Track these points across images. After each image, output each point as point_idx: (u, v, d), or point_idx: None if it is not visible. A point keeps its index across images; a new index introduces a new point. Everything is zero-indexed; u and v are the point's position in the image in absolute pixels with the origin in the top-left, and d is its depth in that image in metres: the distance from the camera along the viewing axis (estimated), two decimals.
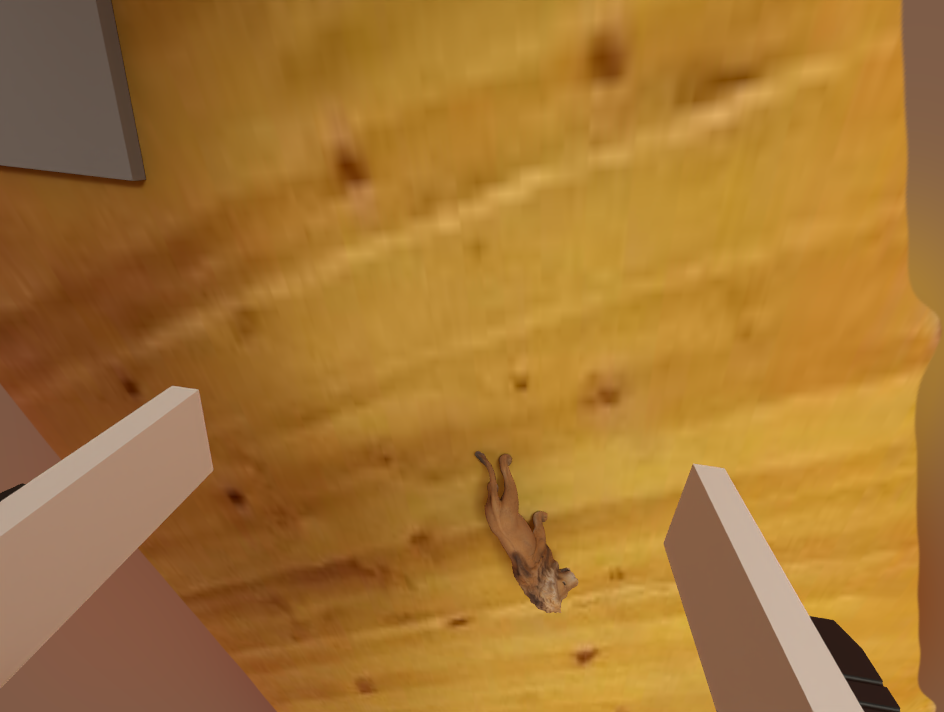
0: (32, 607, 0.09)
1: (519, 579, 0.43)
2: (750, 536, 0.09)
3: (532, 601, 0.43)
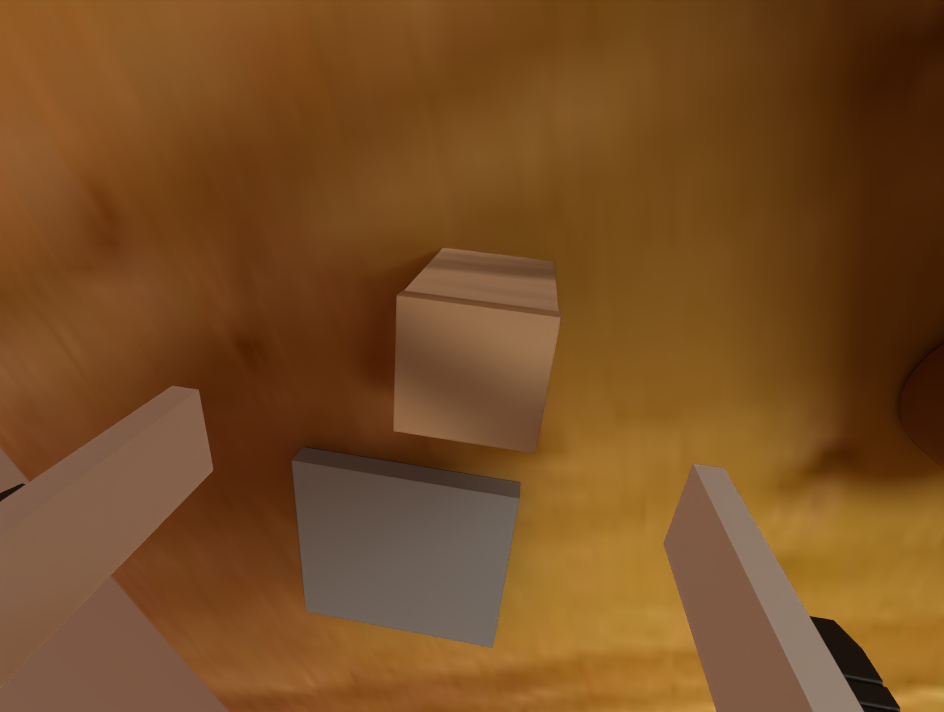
0: (32, 607, 0.09)
1: None
2: (750, 536, 0.09)
3: None
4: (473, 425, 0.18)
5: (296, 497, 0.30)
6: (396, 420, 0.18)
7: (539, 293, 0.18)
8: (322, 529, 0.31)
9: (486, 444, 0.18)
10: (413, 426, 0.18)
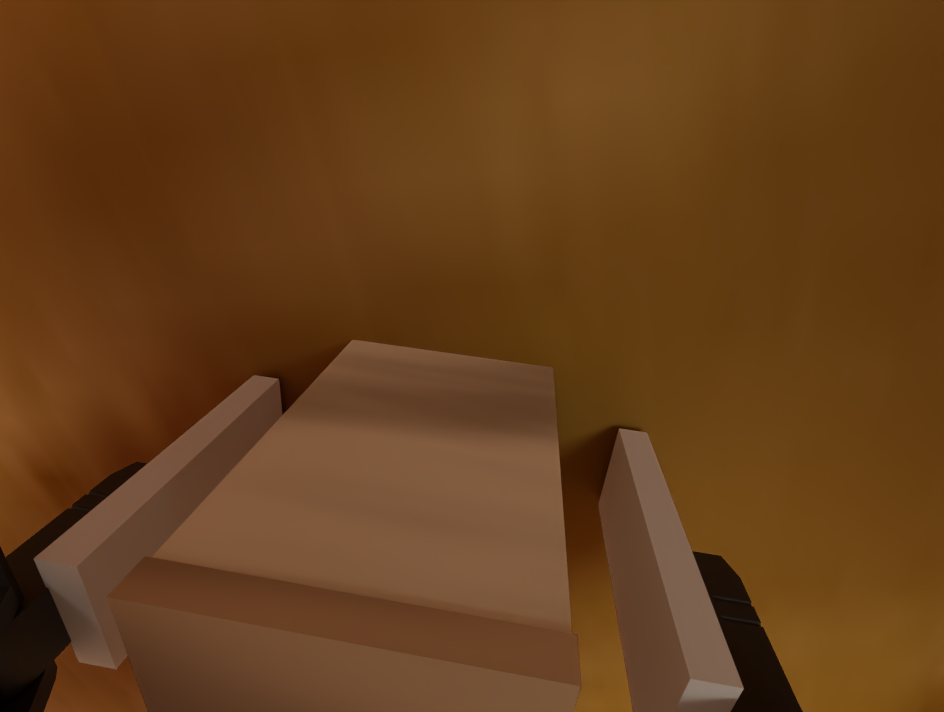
0: None
1: None
2: (655, 486, 0.11)
3: None
4: None
5: None
6: None
7: (522, 515, 0.07)
8: None
9: None
10: None
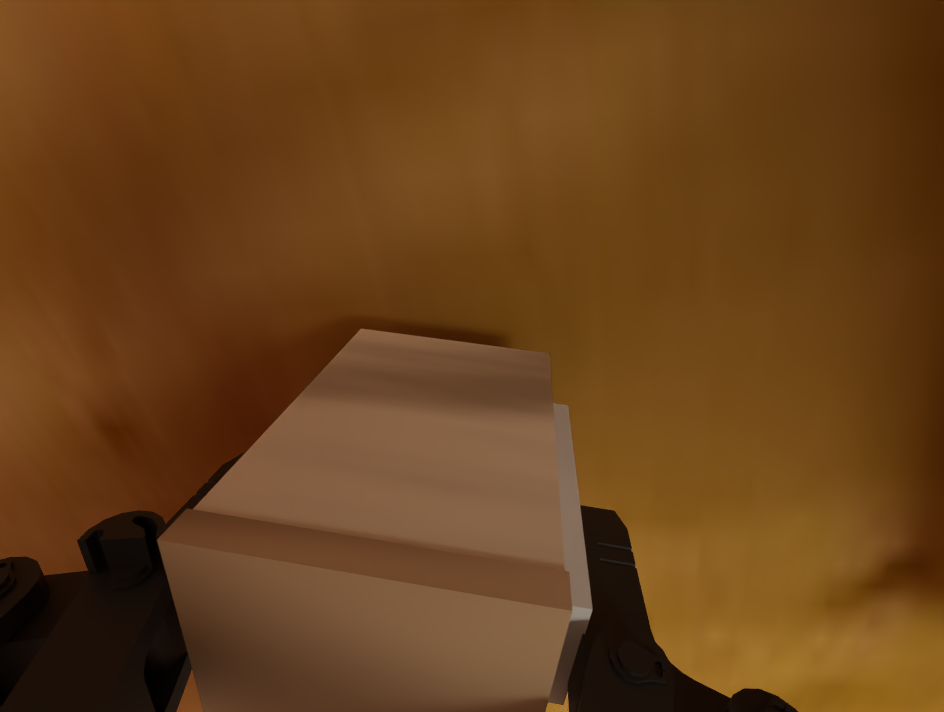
0: None
1: None
2: (562, 450, 0.11)
3: None
4: None
5: None
6: None
7: (520, 478, 0.08)
8: None
9: None
10: None
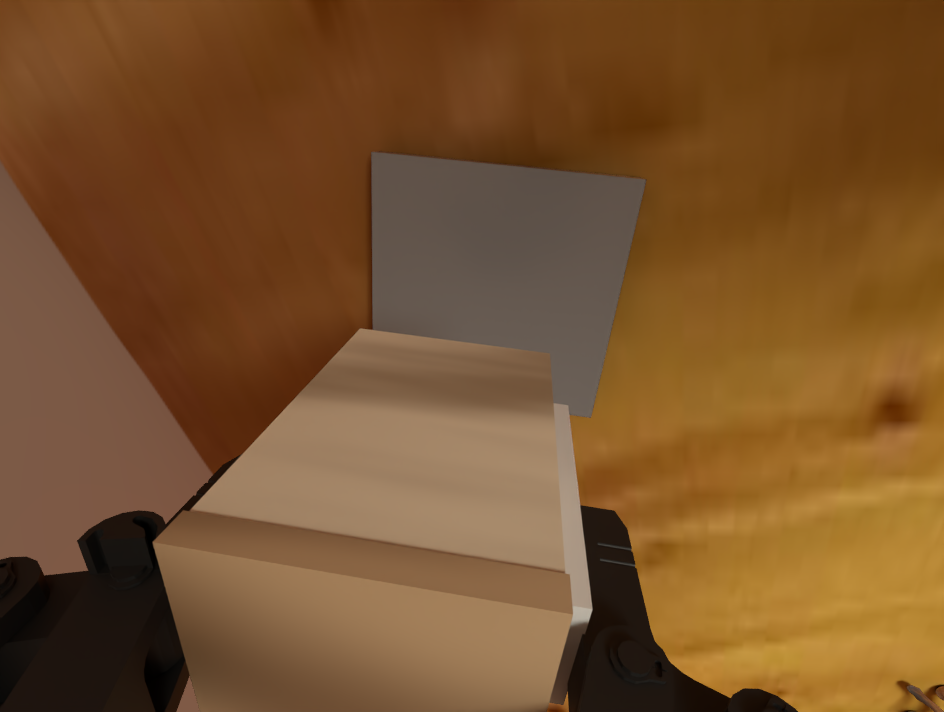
0: None
1: None
2: (562, 450, 0.11)
3: None
4: None
5: (373, 210, 0.25)
6: None
7: (520, 479, 0.08)
8: (401, 257, 0.26)
9: None
10: None
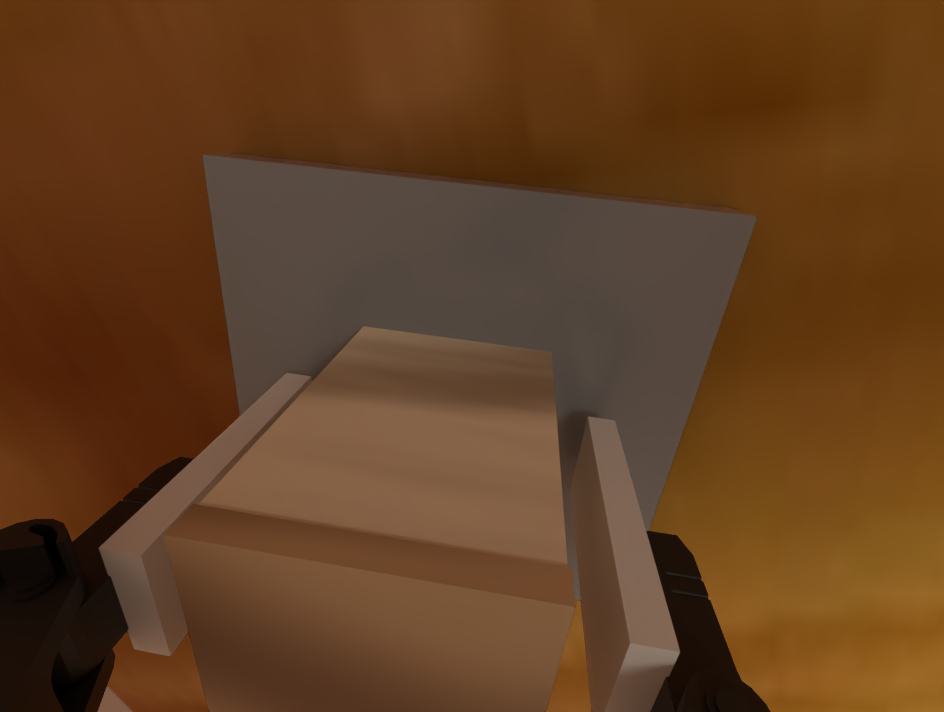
0: None
1: None
2: (617, 470, 0.11)
3: None
4: None
5: (221, 266, 0.13)
6: None
7: (523, 475, 0.08)
8: (282, 349, 0.14)
9: None
10: None
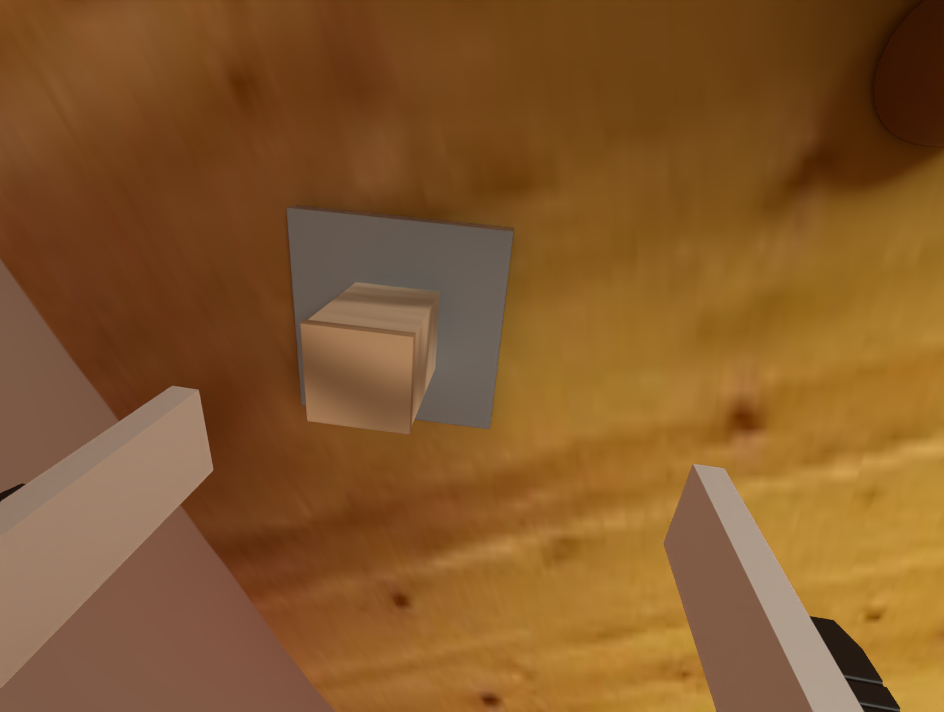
0: (32, 607, 0.09)
1: None
2: (750, 536, 0.09)
3: None
4: (363, 414, 0.25)
5: (291, 255, 0.30)
6: (308, 413, 0.25)
7: (410, 319, 0.25)
8: (317, 294, 0.31)
9: (374, 428, 0.25)
10: (321, 417, 0.25)
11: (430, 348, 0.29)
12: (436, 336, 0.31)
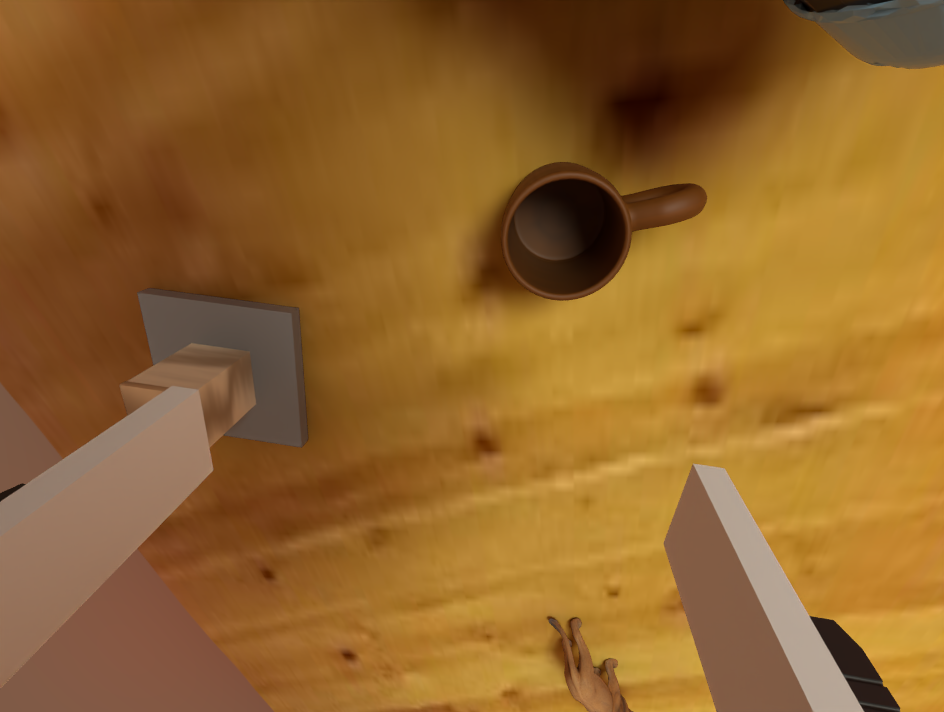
0: (32, 607, 0.09)
1: None
2: (750, 536, 0.09)
3: None
4: None
5: (145, 324, 0.42)
6: None
7: (202, 379, 0.37)
8: (167, 350, 0.43)
9: None
10: None
11: (238, 393, 0.41)
12: (251, 382, 0.43)
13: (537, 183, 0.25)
